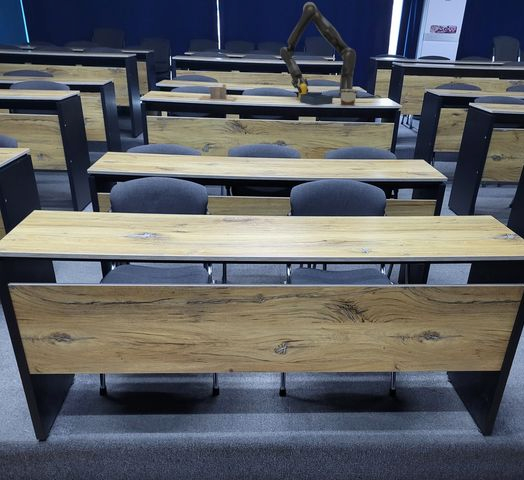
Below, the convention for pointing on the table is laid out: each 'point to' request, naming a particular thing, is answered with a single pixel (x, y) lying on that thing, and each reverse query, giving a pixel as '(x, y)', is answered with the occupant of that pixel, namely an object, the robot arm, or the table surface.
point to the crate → (316, 99)
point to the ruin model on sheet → (218, 94)
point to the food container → (348, 97)
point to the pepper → (303, 89)
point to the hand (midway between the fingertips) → (304, 92)
